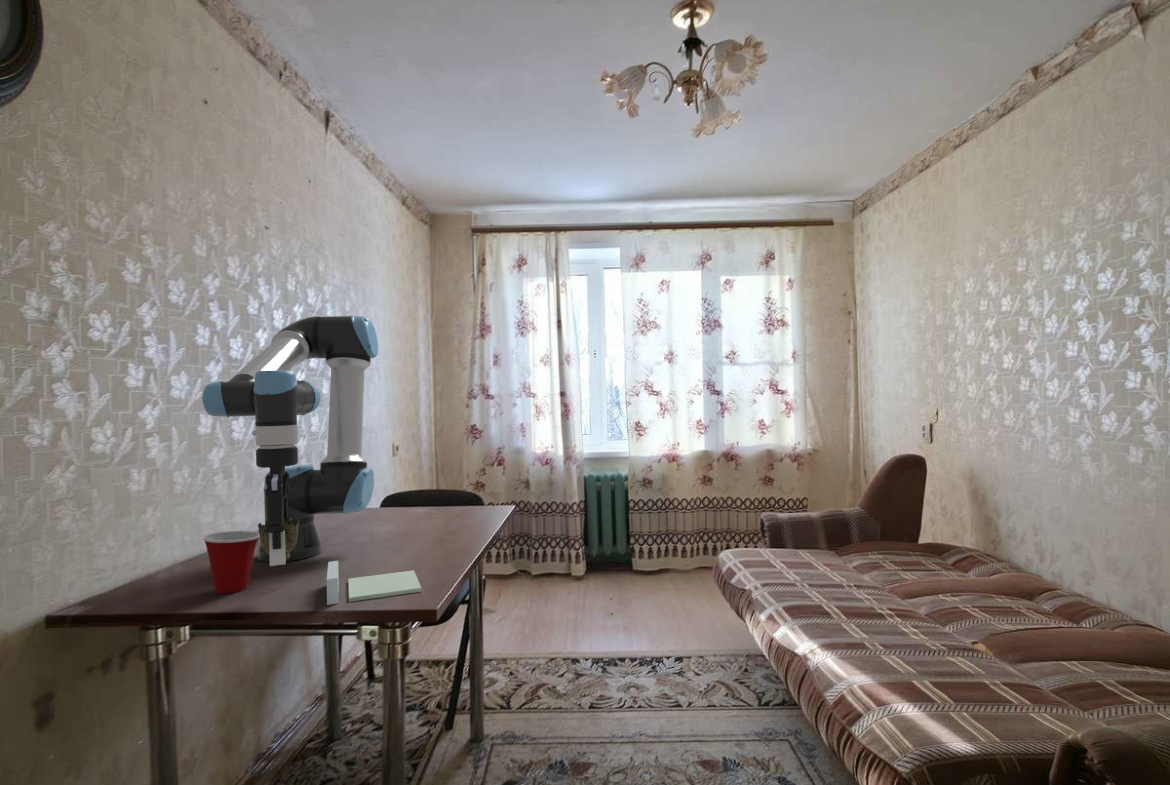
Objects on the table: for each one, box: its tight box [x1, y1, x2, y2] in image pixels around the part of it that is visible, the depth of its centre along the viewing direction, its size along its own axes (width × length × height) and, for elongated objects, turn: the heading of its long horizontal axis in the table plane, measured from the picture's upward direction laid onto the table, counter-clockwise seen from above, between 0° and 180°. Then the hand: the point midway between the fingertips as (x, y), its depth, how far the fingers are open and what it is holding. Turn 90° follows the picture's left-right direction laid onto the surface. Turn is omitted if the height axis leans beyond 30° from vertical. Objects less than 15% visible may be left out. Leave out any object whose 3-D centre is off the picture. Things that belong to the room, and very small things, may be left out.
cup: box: [257, 518, 299, 560], centre depth 118 cm, size 8×7×8 cm
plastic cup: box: [202, 530, 260, 595], centre depth 126 cm, size 11×11×12 cm
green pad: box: [347, 570, 422, 603], centre depth 126 cm, size 14×14×1 cm
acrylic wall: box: [326, 560, 340, 606], centre depth 122 cm, size 14×2×5 cm, turn 22°
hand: (279, 559), depth 119 cm, fingers closed on cup, 7 cm apart
